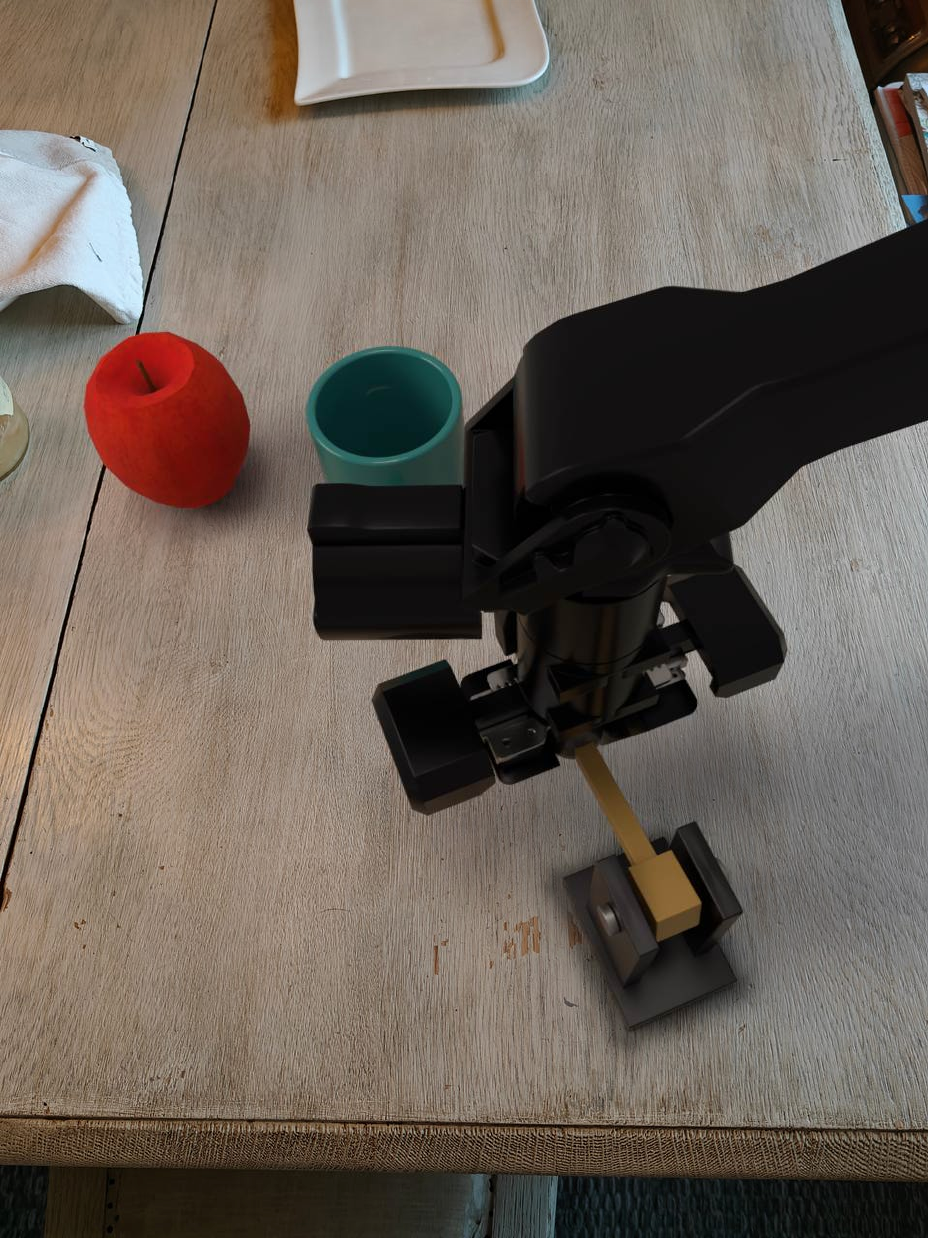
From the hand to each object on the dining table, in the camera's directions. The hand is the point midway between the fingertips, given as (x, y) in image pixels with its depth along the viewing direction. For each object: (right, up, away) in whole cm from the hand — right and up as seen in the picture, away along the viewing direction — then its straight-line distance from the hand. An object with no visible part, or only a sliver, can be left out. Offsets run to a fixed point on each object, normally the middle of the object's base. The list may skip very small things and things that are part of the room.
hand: (571, 747), depth 52 cm
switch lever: (+2, -3, -4) cm, 5 cm away
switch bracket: (+4, -10, -1) cm, 10 cm away
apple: (-24, +16, +15) cm, 33 cm away
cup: (-10, +13, +12) cm, 20 cm away
